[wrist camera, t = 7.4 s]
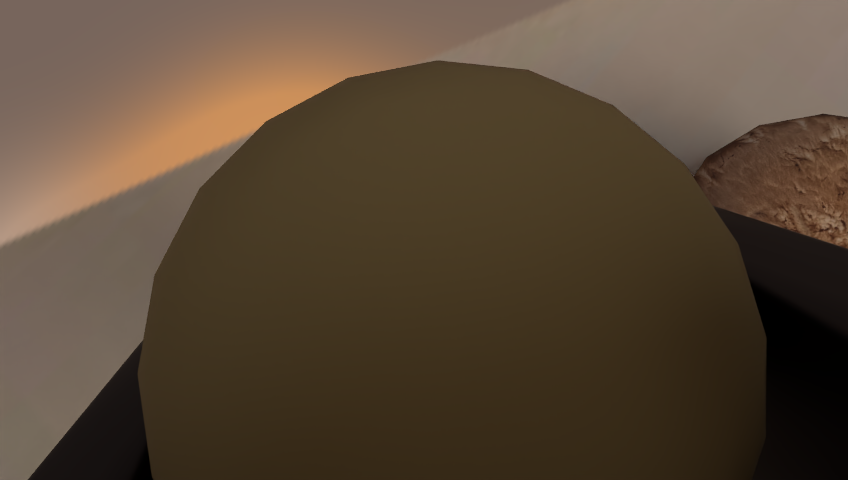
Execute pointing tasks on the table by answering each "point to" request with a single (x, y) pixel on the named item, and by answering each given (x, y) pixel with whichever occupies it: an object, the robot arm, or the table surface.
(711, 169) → the mushroom
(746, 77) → the table surface
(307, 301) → the pepper shaker
